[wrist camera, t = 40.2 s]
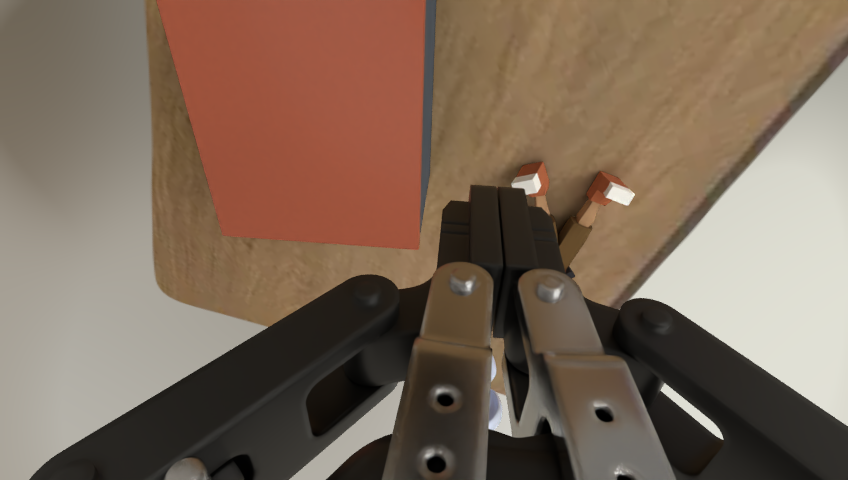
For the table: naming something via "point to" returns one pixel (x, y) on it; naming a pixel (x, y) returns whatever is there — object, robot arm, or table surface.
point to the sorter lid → (306, 114)
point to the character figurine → (579, 226)
